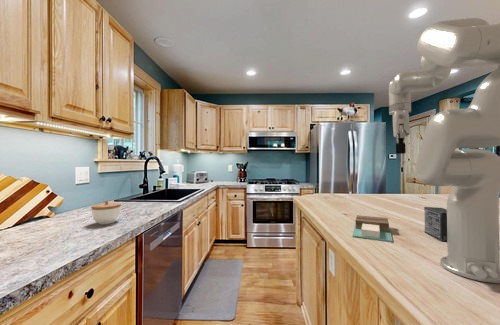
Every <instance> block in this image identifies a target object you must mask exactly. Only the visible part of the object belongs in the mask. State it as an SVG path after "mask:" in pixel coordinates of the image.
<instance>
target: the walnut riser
mask: <svg viewBox="0 0 500 325" xmlns="http://www.w3.org/2000/svg"><path fill="white" fill-rule="evenodd" d="M389 222H390V221H389V218H388V217H381V216H370V215H358V214H357V215H356V218H355V225H356V229H362V224H372V225H379V229H380V231H381V232H389V229H390V224H389Z"/></svg>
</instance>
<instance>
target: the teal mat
mask: <svg viewBox="0 0 500 325" xmlns="http://www.w3.org/2000/svg"><path fill="white" fill-rule="evenodd" d="M351 236H352V237H353V238H356V239H364V240H365V239H366V240H372V241H374V240H375V241H379V242H380V241H381V242H388V243H393V237H392V234H391V228H389V232H381V231H380V238H374V237H367V236H362V230H361V229H356V224H355V225H354V228H353V231H352V235H351Z"/></svg>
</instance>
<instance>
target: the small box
mask: <svg viewBox="0 0 500 325" xmlns="http://www.w3.org/2000/svg"><path fill="white" fill-rule="evenodd" d="M423 209H424V233H425V234H426V235H428V236H430V237H432V238H434V239H436V240H438V241H440V242H447V208H443V207H437V206H435V207H433V206H431V207H430V206H424V207H423Z"/></svg>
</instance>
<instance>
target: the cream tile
mask: <svg viewBox="0 0 500 325" xmlns="http://www.w3.org/2000/svg"><path fill="white" fill-rule="evenodd" d="M361 230H362V236H367V237H374V238H380V229H379V225H372V224H362V229H361Z"/></svg>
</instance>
